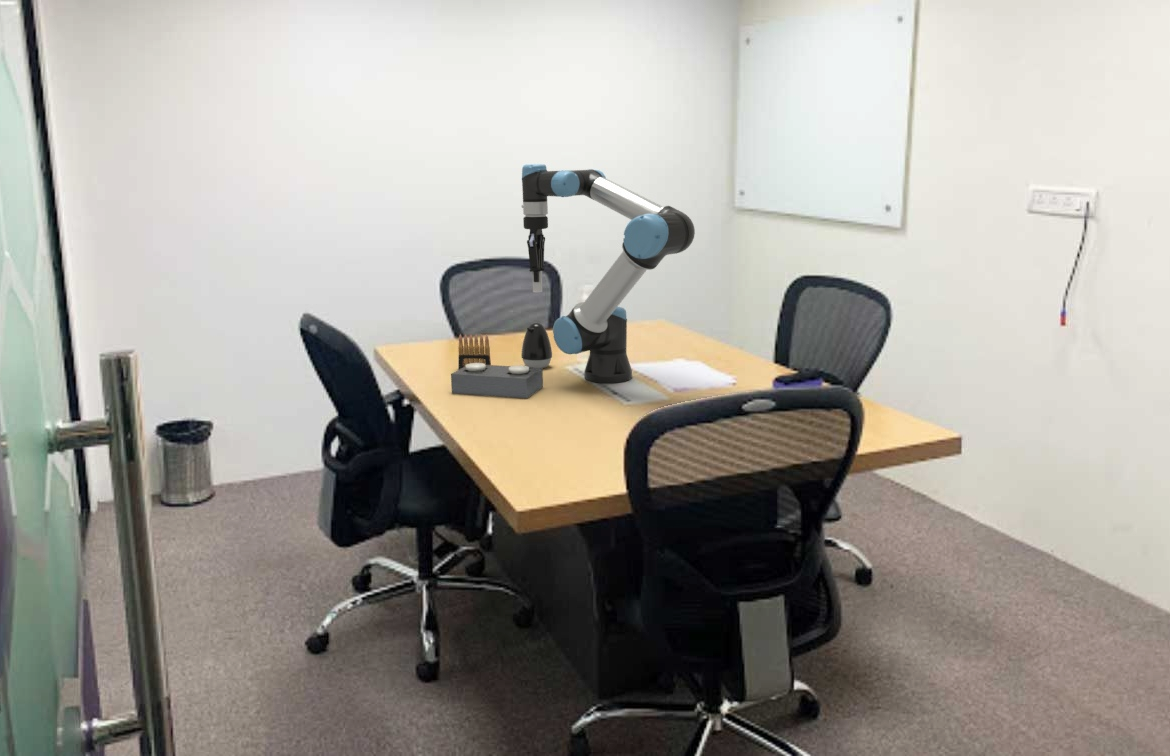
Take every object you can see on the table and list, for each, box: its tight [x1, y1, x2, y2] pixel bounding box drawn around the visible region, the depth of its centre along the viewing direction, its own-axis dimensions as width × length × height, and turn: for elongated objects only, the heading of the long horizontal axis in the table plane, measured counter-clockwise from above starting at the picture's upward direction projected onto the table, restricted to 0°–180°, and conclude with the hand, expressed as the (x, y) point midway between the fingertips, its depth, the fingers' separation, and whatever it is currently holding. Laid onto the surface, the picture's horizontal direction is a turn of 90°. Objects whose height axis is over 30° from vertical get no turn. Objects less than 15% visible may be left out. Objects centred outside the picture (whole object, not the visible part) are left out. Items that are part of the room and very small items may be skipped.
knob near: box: [509, 364, 529, 375], centre depth 281 cm, size 6×6×7 cm
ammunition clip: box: [457, 333, 492, 370], centre depth 310 cm, size 11×2×12 cm, turn 85°
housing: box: [450, 364, 544, 399], centre depth 283 cm, size 24×14×6 cm, turn 73°
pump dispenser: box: [521, 322, 553, 369], centre depth 311 cm, size 10×10×15 cm
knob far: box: [466, 362, 486, 372], centre depth 285 cm, size 6×6×7 cm
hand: (537, 291), depth 293 cm, fingers closed
